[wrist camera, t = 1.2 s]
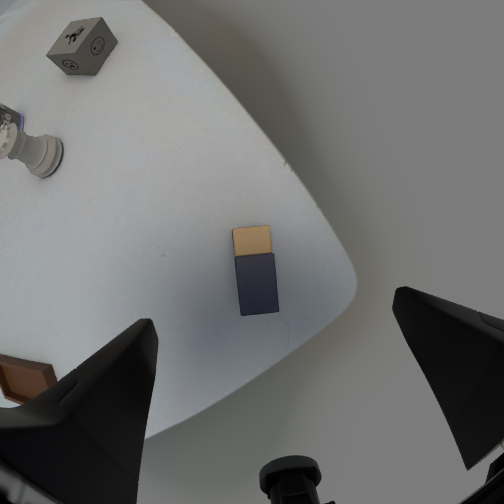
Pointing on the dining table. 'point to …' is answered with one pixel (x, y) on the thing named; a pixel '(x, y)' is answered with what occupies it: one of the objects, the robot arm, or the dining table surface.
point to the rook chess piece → (30, 149)
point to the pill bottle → (10, 117)
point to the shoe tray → (24, 378)
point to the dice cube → (83, 47)
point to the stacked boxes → (255, 270)
